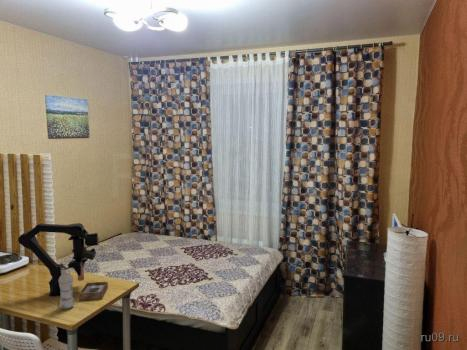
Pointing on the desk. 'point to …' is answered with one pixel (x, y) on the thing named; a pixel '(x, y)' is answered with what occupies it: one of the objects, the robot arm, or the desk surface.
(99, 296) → the square frame
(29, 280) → the desk surface
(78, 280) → the peg
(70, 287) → the plastic bottle
